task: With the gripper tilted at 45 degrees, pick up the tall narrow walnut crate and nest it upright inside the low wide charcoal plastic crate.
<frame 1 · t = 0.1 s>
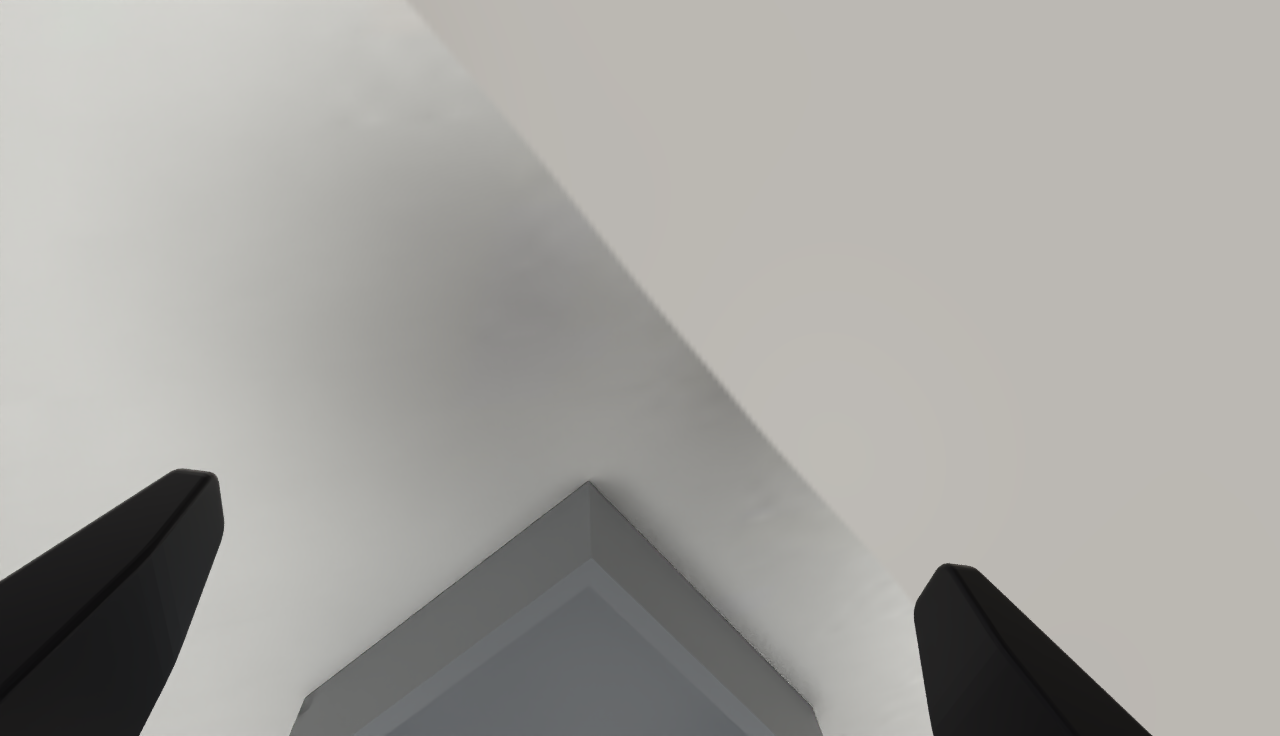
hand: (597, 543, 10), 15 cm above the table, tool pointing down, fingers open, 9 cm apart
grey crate: (568, 703, 30), on the table
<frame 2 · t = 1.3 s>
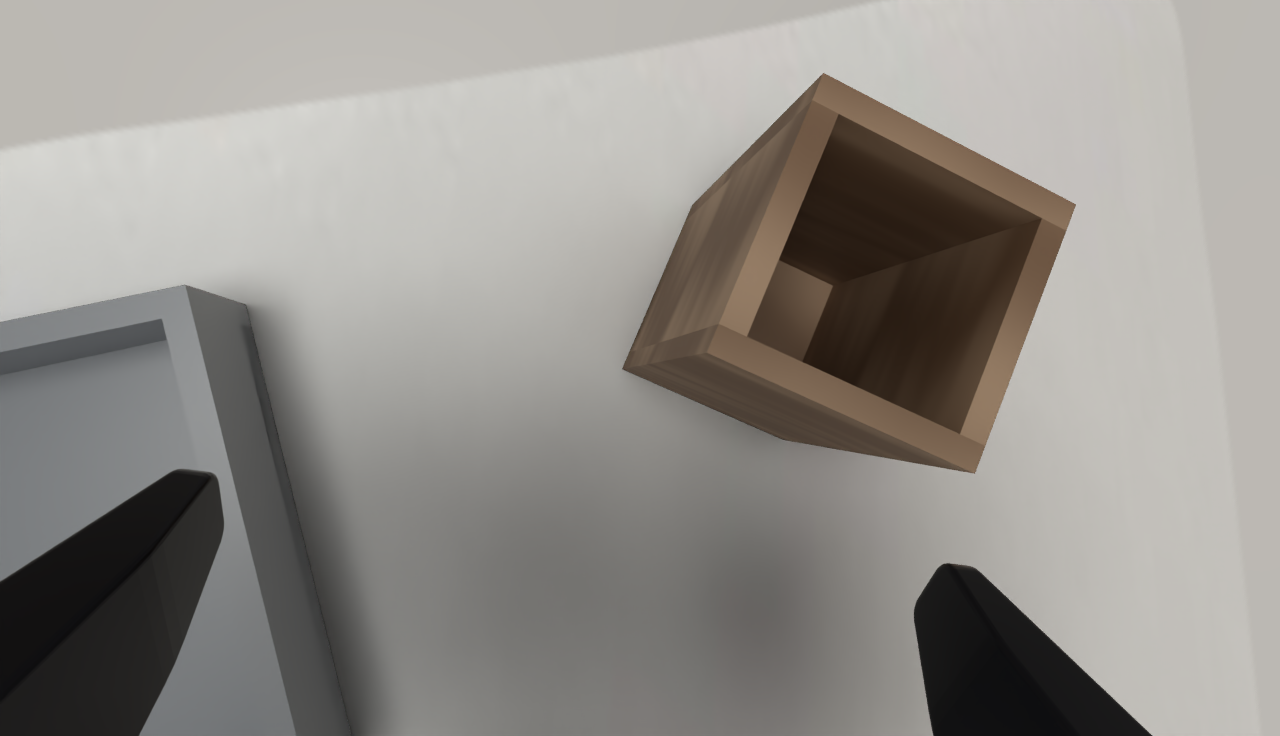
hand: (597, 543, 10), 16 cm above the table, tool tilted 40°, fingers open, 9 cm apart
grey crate: (51, 592, 23), on the table
walnut crate: (737, 323, 26), on the table
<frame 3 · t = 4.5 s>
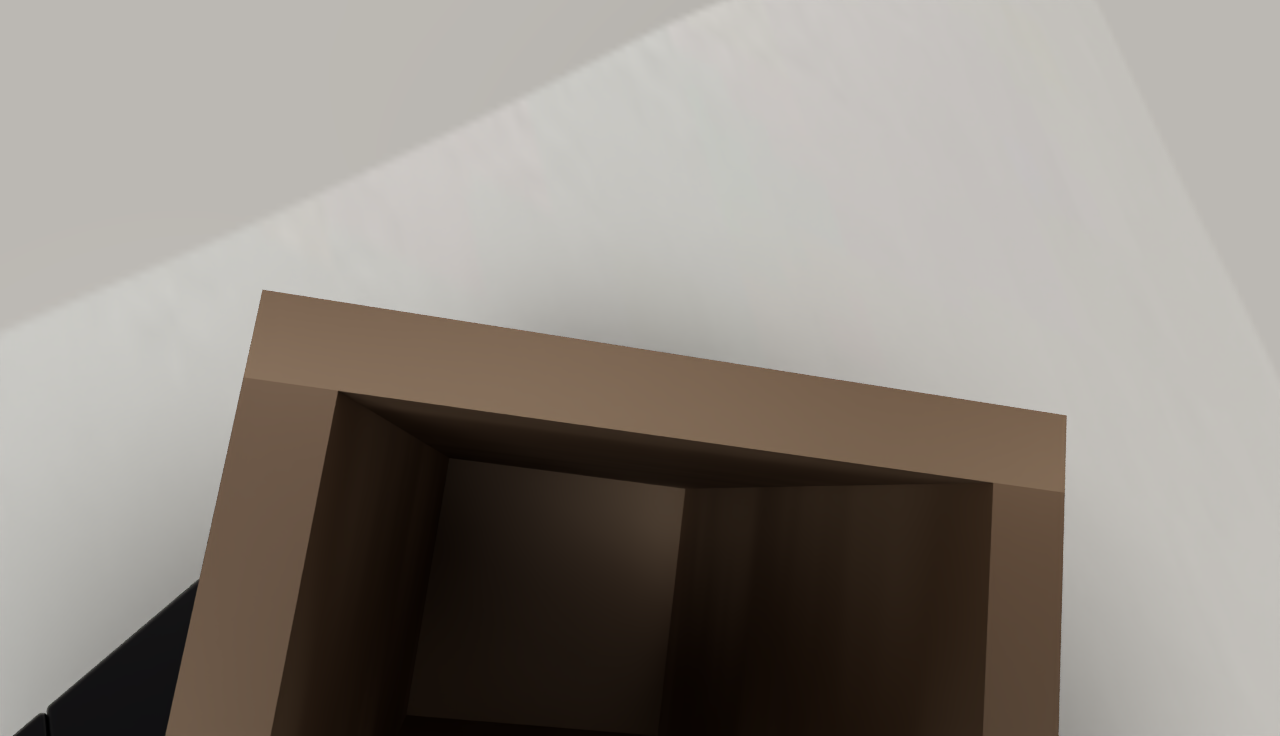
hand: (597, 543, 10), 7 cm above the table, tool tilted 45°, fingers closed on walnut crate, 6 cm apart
walnut crate: (551, 592, 16), on the table, touching gripper
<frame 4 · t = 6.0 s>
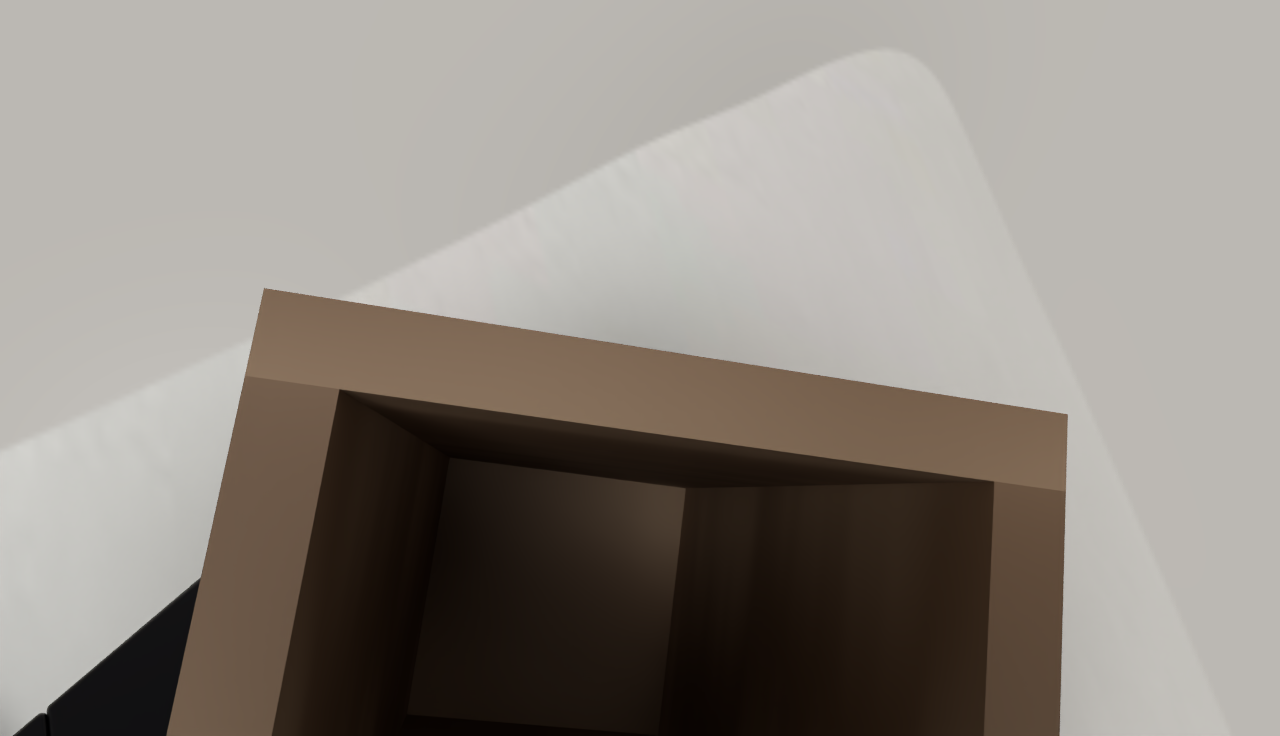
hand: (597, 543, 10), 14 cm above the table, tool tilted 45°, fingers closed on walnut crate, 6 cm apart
walnut crate: (551, 591, 16), point 7 cm above the table, touching gripper
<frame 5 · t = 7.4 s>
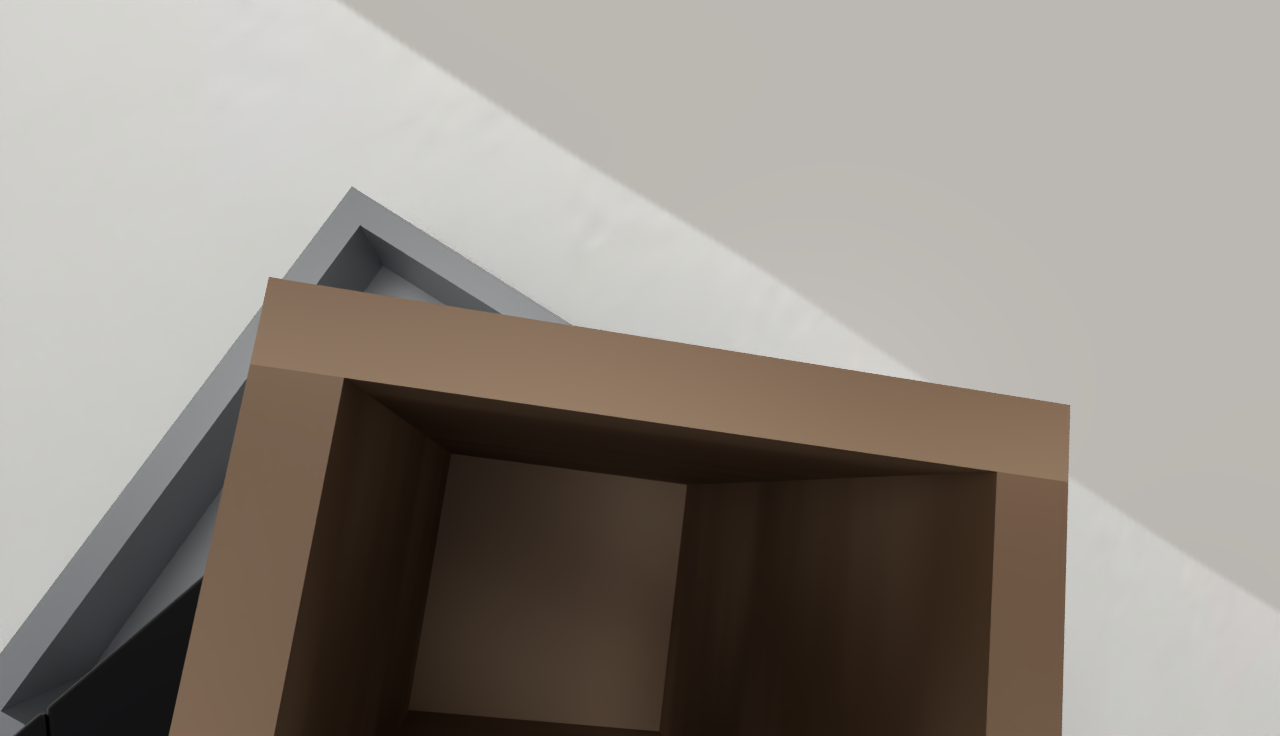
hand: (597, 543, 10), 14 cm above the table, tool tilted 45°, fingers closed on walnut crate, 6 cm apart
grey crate: (451, 573, 22), on the table
walnut crate: (552, 588, 16), point 7 cm above the table, touching gripper
when the fingers open (9 cm above the table, at t = 9.0 s): walnut crate drops 1 cm, resting on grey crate.
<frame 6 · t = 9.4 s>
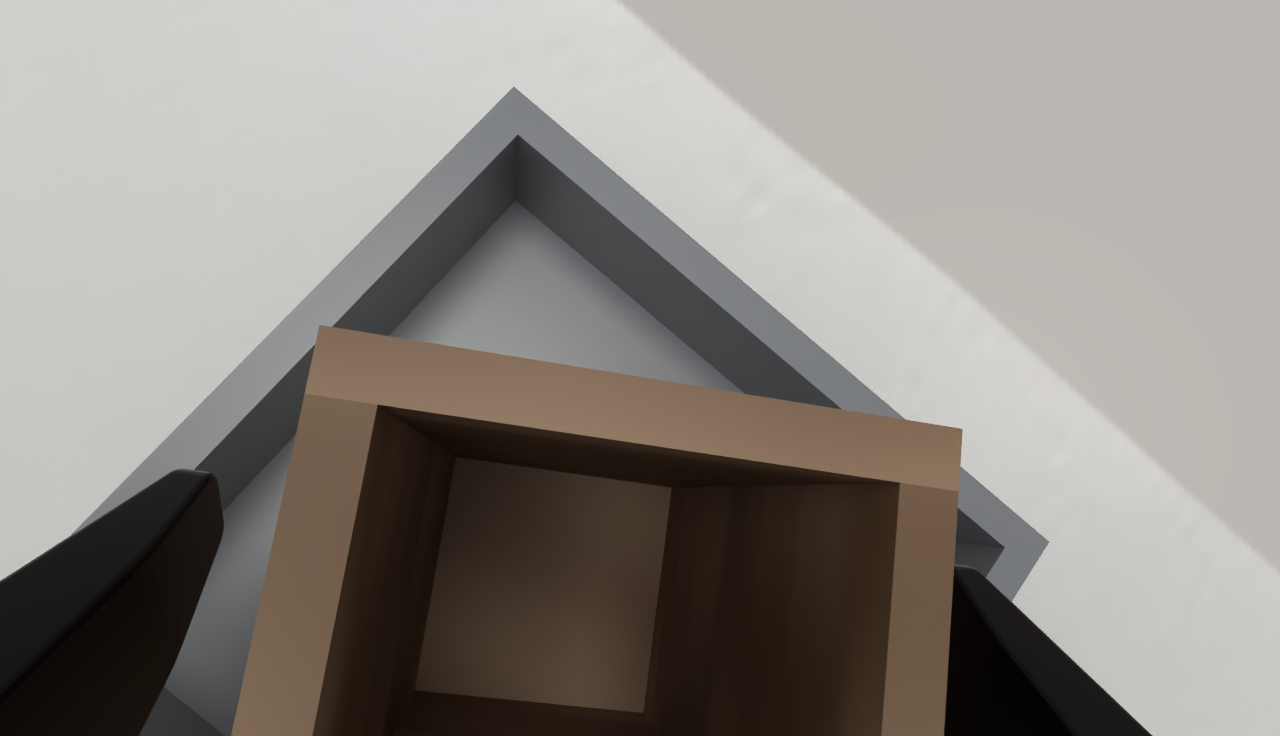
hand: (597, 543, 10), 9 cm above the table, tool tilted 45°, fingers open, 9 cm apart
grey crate: (545, 578, 18), on the table, touching walnut crate
walnut crate: (547, 581, 17), point 1 cm above the table, touching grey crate
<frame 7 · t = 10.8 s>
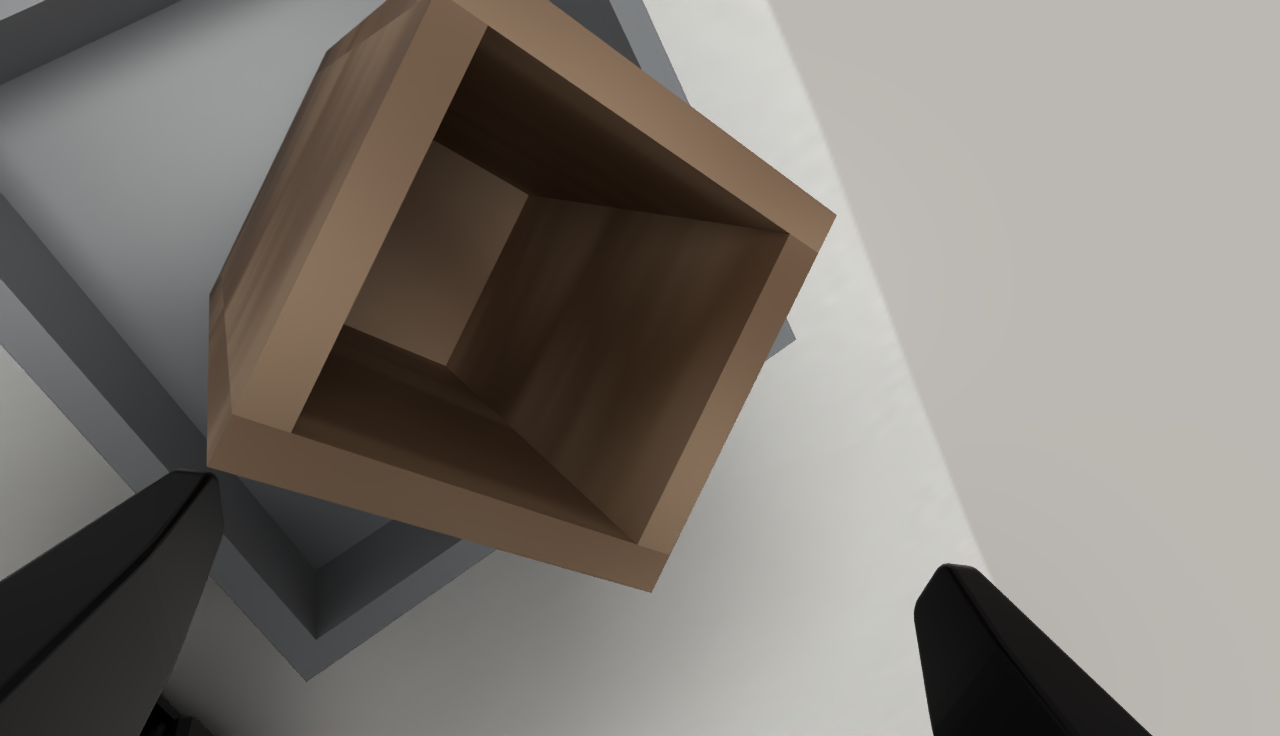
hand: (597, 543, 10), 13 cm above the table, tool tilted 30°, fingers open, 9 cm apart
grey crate: (389, 231, 20), on the table, touching walnut crate
walnut crate: (393, 234, 19), point 1 cm above the table, tilted 7°, touching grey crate
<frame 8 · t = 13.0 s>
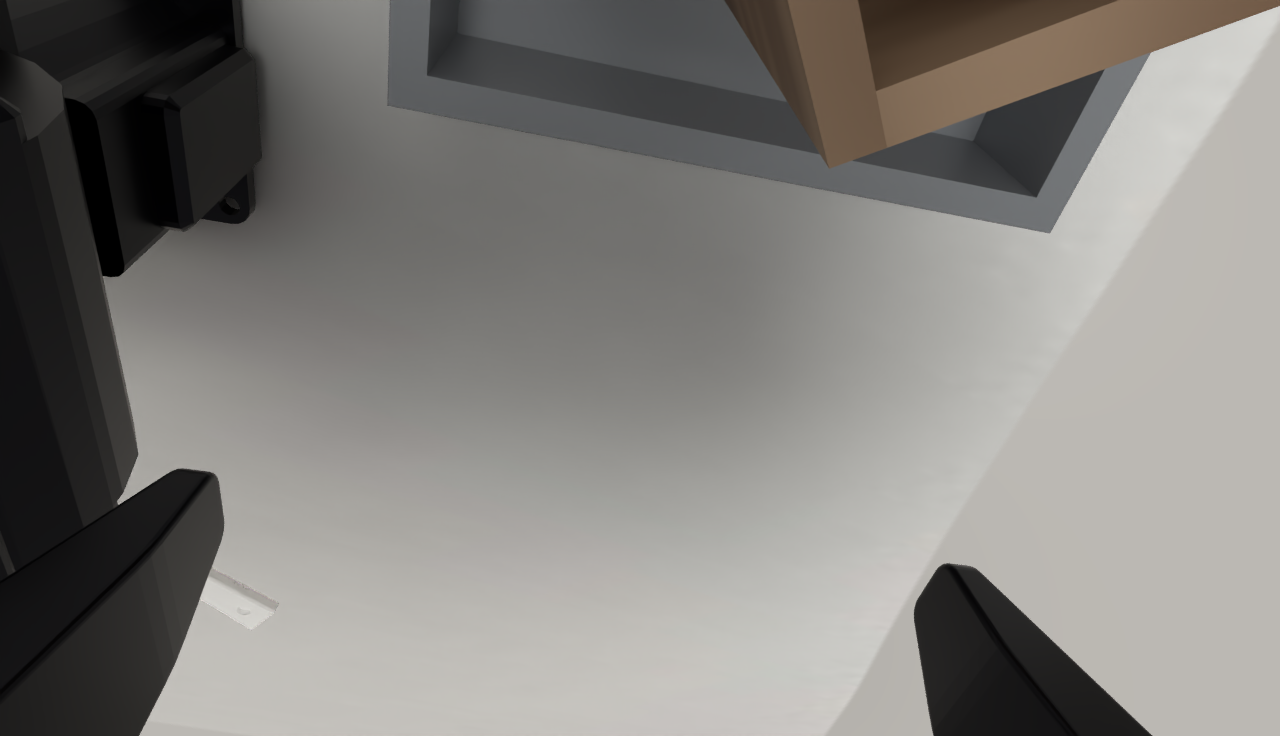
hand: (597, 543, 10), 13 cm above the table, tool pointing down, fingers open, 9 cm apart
white angle bracket: (63, 524, 28), on the table
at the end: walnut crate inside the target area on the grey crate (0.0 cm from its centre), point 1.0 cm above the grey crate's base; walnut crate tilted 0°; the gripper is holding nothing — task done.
